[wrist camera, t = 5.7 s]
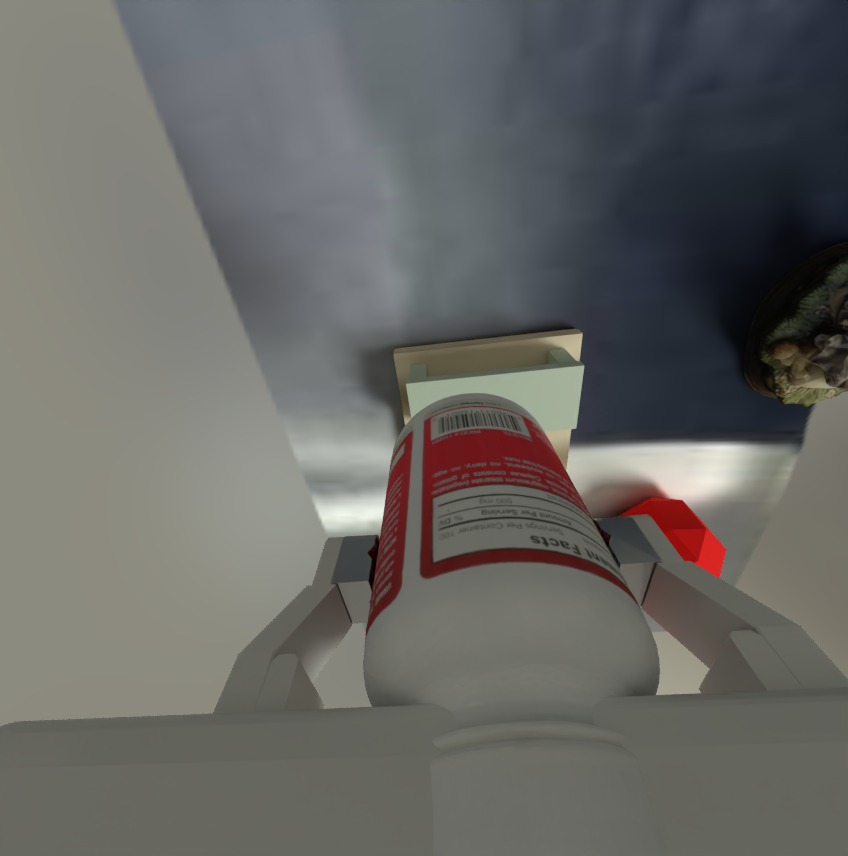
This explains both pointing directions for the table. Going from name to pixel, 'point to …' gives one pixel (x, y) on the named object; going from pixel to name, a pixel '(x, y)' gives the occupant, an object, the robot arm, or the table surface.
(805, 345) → the figurine
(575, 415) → the housing cover
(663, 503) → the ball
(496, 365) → the base
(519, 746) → the pill bottle
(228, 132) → the table surface
